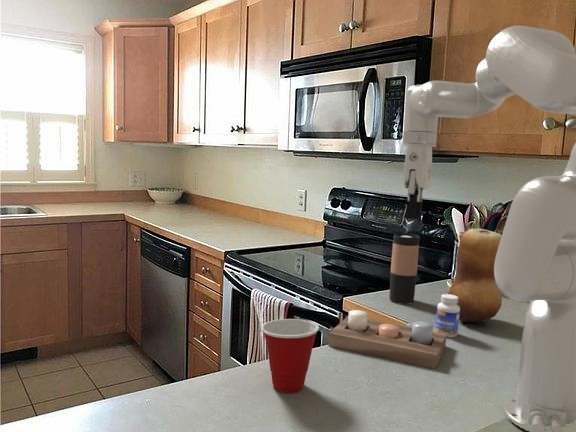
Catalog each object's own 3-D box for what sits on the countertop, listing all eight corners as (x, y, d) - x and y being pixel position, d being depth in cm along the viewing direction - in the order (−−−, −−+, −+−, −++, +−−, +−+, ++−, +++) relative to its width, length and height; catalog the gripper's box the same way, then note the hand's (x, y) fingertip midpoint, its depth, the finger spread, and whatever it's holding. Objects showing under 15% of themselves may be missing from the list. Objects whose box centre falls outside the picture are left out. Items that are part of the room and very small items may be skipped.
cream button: (363, 334, 119) (364, 317, 119) (345, 330, 121) (346, 314, 120) (368, 328, 123) (369, 312, 122) (351, 324, 125) (352, 308, 124)
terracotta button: (395, 348, 116) (396, 331, 116) (375, 345, 118) (377, 328, 118) (399, 342, 120) (400, 326, 120) (380, 338, 122) (382, 322, 122)
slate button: (429, 347, 113) (431, 329, 112) (409, 343, 115) (410, 325, 114) (432, 340, 117) (434, 323, 116) (413, 336, 119) (414, 320, 118)
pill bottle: (432, 334, 128) (436, 296, 126) (437, 328, 132) (440, 291, 131) (455, 339, 125) (459, 300, 124) (459, 332, 130) (462, 295, 129)
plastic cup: (291, 368, 105) (294, 311, 103) (327, 389, 97) (331, 328, 95) (247, 381, 98) (249, 321, 97) (282, 405, 90) (285, 340, 88)
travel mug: (383, 298, 157) (388, 233, 154) (403, 296, 160) (408, 232, 157) (398, 305, 150) (404, 238, 147) (419, 303, 153) (425, 237, 151)
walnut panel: (436, 368, 108) (437, 354, 108) (328, 345, 118) (329, 333, 117) (445, 346, 121) (446, 333, 120) (347, 327, 130) (348, 315, 130)
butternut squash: (492, 334, 130) (502, 236, 126) (439, 322, 137) (448, 229, 134) (504, 320, 141) (513, 230, 138) (455, 309, 149) (462, 224, 145)
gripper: (430, 139, 111) (423, 223, 114) (440, 141, 125) (434, 216, 127) (396, 138, 114) (390, 220, 117) (409, 140, 128) (404, 213, 130)
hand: (413, 218), depth 122 cm, fingers closed
